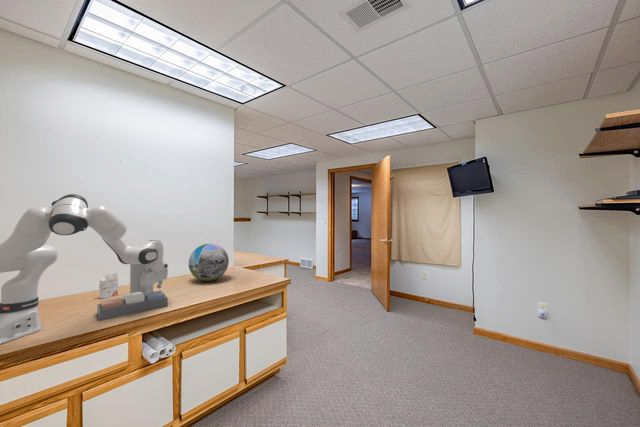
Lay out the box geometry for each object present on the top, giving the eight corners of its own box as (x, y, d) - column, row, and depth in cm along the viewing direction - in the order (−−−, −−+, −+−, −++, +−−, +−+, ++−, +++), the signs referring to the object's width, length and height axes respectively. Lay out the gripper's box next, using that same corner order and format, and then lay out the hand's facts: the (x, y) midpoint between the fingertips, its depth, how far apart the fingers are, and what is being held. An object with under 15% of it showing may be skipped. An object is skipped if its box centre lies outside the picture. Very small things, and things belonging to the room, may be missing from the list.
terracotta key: (101, 312, 136) (101, 305, 136) (100, 308, 142) (100, 301, 142) (122, 308, 142) (122, 301, 142) (119, 304, 148) (119, 297, 148)
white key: (125, 305, 143) (126, 297, 143) (123, 301, 149) (123, 294, 149) (144, 301, 149) (144, 294, 149) (141, 298, 155) (141, 291, 155)
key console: (99, 320, 133) (99, 310, 133) (97, 313, 143) (97, 304, 143) (167, 306, 155) (167, 297, 155) (161, 300, 164) (161, 292, 164)
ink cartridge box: (111, 294, 176) (112, 272, 176) (118, 294, 175) (118, 272, 175) (98, 298, 168) (99, 275, 168) (105, 298, 167) (105, 275, 167)
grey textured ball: (207, 275, 232) (207, 241, 232) (236, 277, 223) (236, 242, 223) (179, 283, 204) (179, 245, 204) (211, 287, 194) (211, 246, 194)
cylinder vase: (157, 296, 173) (157, 258, 173) (136, 301, 162) (136, 261, 162) (147, 292, 179) (147, 256, 179) (126, 297, 169) (126, 259, 169)
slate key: (147, 303, 150) (147, 296, 150) (144, 300, 156) (144, 293, 156) (164, 300, 156) (164, 293, 156) (160, 296, 162) (160, 290, 162)
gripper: (148, 271, 145) (147, 296, 145) (169, 263, 166) (169, 285, 166) (136, 270, 146) (136, 295, 146) (159, 263, 166) (159, 285, 166)
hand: (154, 290), depth 156 cm, fingers open, 8 cm apart
